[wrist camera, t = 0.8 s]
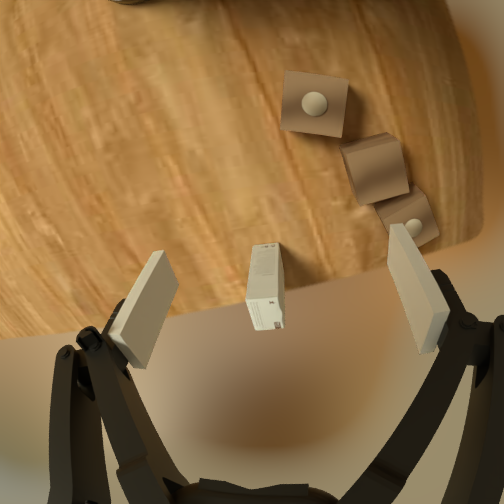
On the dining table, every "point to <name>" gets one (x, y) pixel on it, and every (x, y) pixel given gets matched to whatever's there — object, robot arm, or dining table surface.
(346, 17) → the dining table surface
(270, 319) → the skincare box
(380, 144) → the plain walnut block
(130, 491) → the robot arm
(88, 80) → the dining table surface
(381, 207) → the dotted walnut block
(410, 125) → the dining table surface
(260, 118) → the dining table surface
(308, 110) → the dotted walnut block
